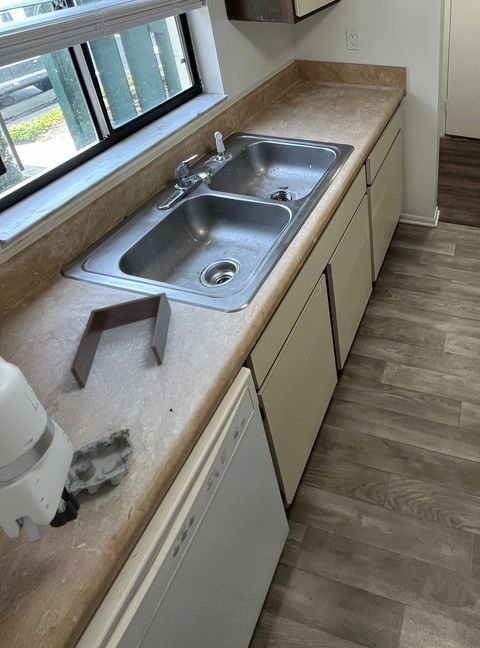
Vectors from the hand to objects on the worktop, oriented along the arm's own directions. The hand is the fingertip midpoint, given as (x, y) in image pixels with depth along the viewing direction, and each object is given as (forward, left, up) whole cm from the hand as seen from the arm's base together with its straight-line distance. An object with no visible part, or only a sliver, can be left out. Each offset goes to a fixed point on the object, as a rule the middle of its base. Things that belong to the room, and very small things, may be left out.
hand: (66, 516), depth 64 cm
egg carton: (0, +10, -8) cm, 12 cm away
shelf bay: (0, +35, -7) cm, 35 cm away
